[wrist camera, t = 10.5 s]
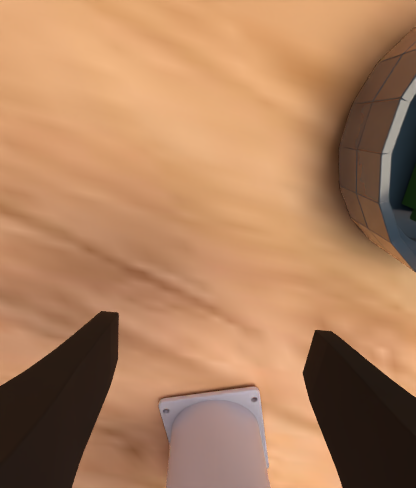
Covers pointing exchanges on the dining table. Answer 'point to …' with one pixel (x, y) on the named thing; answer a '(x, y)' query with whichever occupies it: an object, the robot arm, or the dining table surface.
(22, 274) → the dining table surface
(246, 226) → the dining table surface
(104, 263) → the dining table surface
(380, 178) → the bowl
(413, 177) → the green box
